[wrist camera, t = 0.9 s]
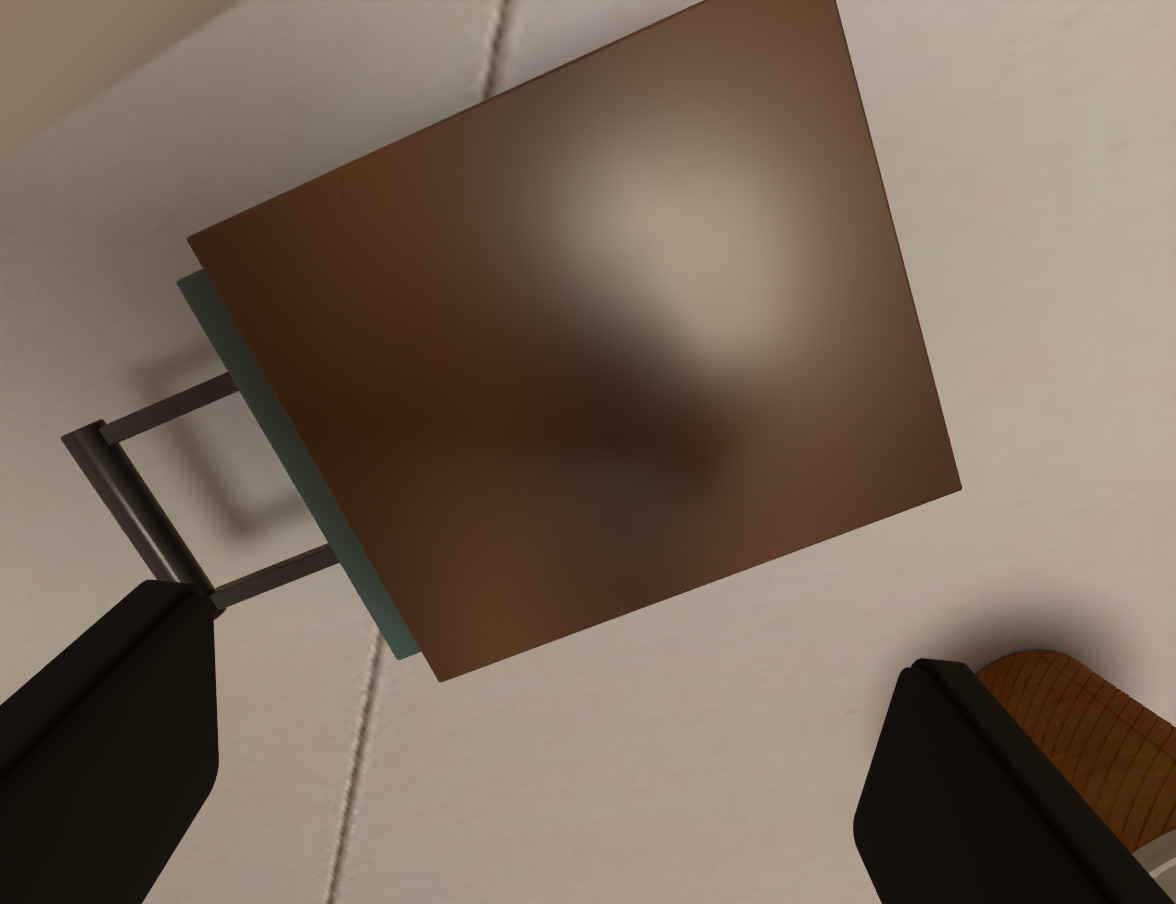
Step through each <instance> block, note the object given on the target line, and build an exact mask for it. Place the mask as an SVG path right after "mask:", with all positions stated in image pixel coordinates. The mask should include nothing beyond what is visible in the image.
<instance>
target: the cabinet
mask: <svg viewBox="0 0 1176 904" xmlns="http://www.w3.org/2000/svg"><path fill="white" fill-rule="evenodd" d="M187 241H188V243H189V245H190V246H191V248H192V250H193V252H194V253H195V255H196V257H197V259H198V260H199V262H200V264H201V266H202V267H203V269H204V271H205V273H206V274H207V276H208V278H209V280H210V281H211V283H212V285H213V287H214V288H215V290H216V292H217V294H218V295H219V297H220V299H221V301H222V302H223V304H224V306H225V308H226V309H227V311H228V313H229V315H230V316H231V318H232V320H233V322H234V323H235V325H236V327H237V329H238V330H239V332H240V334H241V336H242V337H243V339H244V341H245V343H246V344H247V346H248V348H249V350H250V351H251V353H252V355H253V357H254V358H255V360H256V362H257V364H258V365H259V367H260V369H261V371H262V373H263V374H264V376H265V378H266V380H267V381H268V383H269V385H270V387H271V388H272V390H273V392H274V394H275V395H276V397H277V399H278V401H279V402H280V404H281V406H282V408H283V409H284V411H285V413H286V415H287V416H288V418H289V420H290V422H291V423H292V425H293V427H294V429H295V430H296V432H297V434H298V436H299V437H300V439H301V441H302V443H303V444H304V446H305V448H306V450H307V451H308V453H309V455H310V457H311V458H312V460H313V462H314V464H315V465H316V467H317V469H318V471H319V472H320V474H321V476H322V478H323V479H324V481H325V483H326V485H327V486H328V488H329V490H330V492H331V493H332V495H333V497H334V499H335V500H336V502H337V504H338V506H339V507H340V509H341V511H342V513H343V514H344V516H345V518H346V520H347V521H348V523H349V525H350V527H351V528H352V530H353V532H354V534H355V535H356V537H357V539H358V541H359V542H360V544H361V546H362V548H363V550H364V551H365V553H366V555H367V557H368V558H369V560H370V562H371V564H372V565H373V567H374V569H375V571H376V572H377V574H378V576H379V578H380V579H381V581H382V583H383V585H384V586H385V588H386V590H387V592H388V593H389V595H390V597H391V599H392V600H393V602H394V604H395V606H396V607H397V609H398V611H399V613H400V614H401V616H402V618H403V620H404V621H405V623H406V625H407V627H408V628H409V630H410V632H411V634H412V635H413V637H414V639H415V641H416V642H417V644H418V646H419V648H420V649H421V651H422V653H423V655H424V656H425V658H426V660H427V662H428V663H429V665H430V667H431V669H432V670H433V672H434V674H435V676H436V677H437V679H438V681H439V682H444V681H447V680H449V679H452V678H455V677H457V676H460V675H463V674H465V673H468V672H471V671H474V670H476V669H479V668H482V667H484V666H487V665H490V664H492V663H495V662H498V661H501V660H503V659H506V658H509V657H511V656H514V655H517V654H519V653H522V652H525V651H528V650H530V649H533V648H536V647H538V646H541V645H544V644H546V643H549V642H552V641H555V640H557V639H560V638H563V637H565V636H568V635H571V634H574V633H576V632H579V631H582V630H584V629H587V628H590V627H592V626H595V625H598V624H601V623H603V622H606V621H609V620H611V619H614V618H617V617H619V616H622V615H625V614H628V613H630V612H633V611H636V610H638V609H641V608H644V607H646V606H649V605H652V604H655V603H657V602H660V601H663V600H665V599H668V598H671V597H673V596H676V595H679V594H682V593H684V592H687V591H690V590H692V589H695V588H698V587H700V586H703V585H706V584H709V583H711V582H714V581H717V580H719V579H722V578H725V577H727V576H730V575H733V574H736V573H738V572H741V571H744V570H746V569H749V568H752V567H755V566H757V565H760V564H763V563H765V562H768V561H771V560H773V559H776V558H779V557H782V556H784V555H787V554H790V553H792V552H795V551H798V550H800V549H803V548H806V547H809V546H811V545H814V544H817V543H819V542H822V541H825V540H827V539H830V538H833V537H836V536H838V535H841V534H844V533H846V532H849V531H852V530H854V529H857V528H860V527H863V526H865V525H868V524H871V523H873V522H876V521H879V520H881V519H884V518H887V517H890V516H892V515H895V514H898V513H900V512H903V511H906V510H908V509H911V508H914V507H917V506H919V505H922V504H925V503H927V502H930V501H933V500H936V499H938V498H941V497H944V496H946V495H949V494H952V493H954V492H957V491H960V490H961V489H962V486H961V482H960V478H959V474H958V470H957V466H956V462H955V459H954V455H953V451H952V447H951V443H950V439H949V435H948V432H947V428H946V424H945V420H944V416H943V412H942V408H941V405H940V401H939V397H938V393H937V389H936V385H935V381H934V378H933V374H932V370H931V366H930V362H929V358H928V354H927V351H926V347H925V343H924V339H923V335H922V331H921V327H920V324H919V320H918V316H917V312H916V308H915V304H914V300H913V297H912V293H911V289H910V285H909V281H908V277H907V273H906V270H905V266H904V262H903V258H902V254H901V250H900V246H899V243H898V239H897V235H896V231H895V227H894V223H893V219H892V216H891V212H890V208H889V204H888V200H887V196H886V192H885V189H884V185H883V181H882V177H881V173H880V169H879V165H878V162H877V158H876V154H875V150H874V146H873V142H872V138H871V135H870V131H869V127H868V123H867V119H866V115H865V111H864V108H863V104H862V100H861V96H860V92H859V88H858V84H857V81H856V77H855V73H854V69H853V65H852V61H851V57H850V54H849V50H848V46H847V42H846V38H845V34H844V30H843V27H842V23H841V19H840V15H839V11H838V7H837V3H836V0H703V1H701V2H699V3H697V4H695V5H692V6H690V7H688V8H686V9H684V10H682V11H679V12H677V13H675V14H673V15H671V16H668V17H666V18H664V19H662V20H660V21H658V22H655V23H653V24H651V25H649V26H647V27H644V28H642V29H640V30H638V31H636V32H634V33H631V34H629V35H627V36H625V37H623V38H620V39H618V40H616V41H614V42H612V43H610V44H607V45H605V46H603V47H601V48H599V49H596V50H594V51H592V52H590V53H588V54H586V55H583V56H581V57H579V58H577V59H575V60H572V61H570V62H568V63H566V64H564V65H562V66H559V67H557V68H555V69H553V70H551V71H548V72H546V73H544V74H542V75H540V76H538V77H535V78H533V79H531V80H529V81H527V82H524V83H522V84H520V85H518V86H516V87H514V88H511V89H509V90H507V91H505V92H503V93H500V94H498V95H496V96H494V97H492V98H490V99H487V100H485V101H483V102H481V103H479V104H476V105H474V106H472V107H470V108H468V109H466V110H463V111H461V112H459V113H457V114H455V115H452V116H450V117H448V118H446V119H444V120H442V121H439V122H437V123H435V124H433V125H431V126H428V127H426V128H424V129H422V130H420V131H418V132H415V133H413V134H411V135H409V136H407V137H404V138H402V139H400V140H398V141H396V142H394V143H391V144H389V145H387V146H385V147H383V148H380V149H378V150H376V151H374V152H372V153H370V154H367V155H365V156H363V157H361V158H359V159H356V160H354V161H352V162H350V163H348V164H346V165H343V166H341V167H339V168H337V169H335V170H333V171H330V172H328V173H326V174H324V175H322V176H319V177H317V178H315V179H313V180H311V181H309V182H306V183H304V184H302V185H300V186H298V187H295V188H293V189H291V190H289V191H287V192H285V193H282V194H280V195H278V196H276V197H274V198H271V199H269V200H267V201H265V202H263V203H261V204H258V205H256V206H254V207H252V208H250V209H247V210H245V211H243V212H241V213H239V214H237V215H234V216H232V217H230V218H228V219H226V220H223V221H221V222H219V223H217V224H215V225H213V226H210V227H208V228H206V229H204V230H202V231H199V232H197V233H195V234H193V235H191V236H189V237H188V238H187Z"/></svg>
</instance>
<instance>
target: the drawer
mask: <svg viewBox="0 0 1176 904" xmlns="http://www.w3.org/2000/svg"><path fill="white" fill-rule="evenodd" d="M177 285H178V287H179V289H180V290H181V292H182V294H183V295H184V297H185V299H186V301H187V302H188V304H189V306H190V307H191V309H192V311H193V312H194V314H195V316H196V318H197V319H198V321H199V323H200V324H201V326H202V328H203V330H204V331H205V333H206V335H207V336H208V338H209V340H210V341H211V343H212V345H213V347H214V348H215V350H216V352H217V353H218V355H219V357H220V359H221V360H222V362H223V364H224V365H225V367H226V369H227V370H228V372H226V373H224V374H222V375H219V376H217V377H215V378H212V379H210V380H208V381H206V382H203V383H201V384H199V385H196V386H194V387H192V388H189V389H187V390H185V391H182V392H180V393H178V394H176V395H173V396H171V397H169V398H166V399H164V400H162V401H159V402H157V403H155V404H152V405H150V406H148V407H146V408H143V409H141V410H139V411H136V412H134V413H132V414H129V415H127V416H125V417H122V418H120V419H118V420H116V421H113V422H111V423H109V424H106V423H105V421H104V420H103V419H100V420H98V421H96V422H93V423H91V424H89V425H86V426H84V427H82V428H79V429H77V430H75V431H73V432H70V433H68V434H66V435H64V436H62V437H61V441H62V442H63V443H64V445H65V446H66V448H67V449H68V451H69V452H70V454H71V455H72V457H73V458H74V460H75V461H76V462H77V464H78V465H79V467H80V468H81V470H82V471H83V473H84V474H85V476H86V477H87V478H88V480H89V481H90V483H91V484H92V486H93V487H94V489H95V490H96V492H97V493H98V495H99V496H100V497H101V499H102V500H103V502H104V503H105V505H106V506H107V508H108V509H109V511H110V512H111V513H112V515H113V516H114V518H115V519H116V521H117V522H118V524H119V525H120V527H121V528H122V530H123V531H124V532H125V534H126V535H127V537H128V538H129V540H130V541H131V543H132V544H133V546H134V547H135V548H136V550H137V551H138V553H139V554H140V556H141V557H142V559H143V560H144V562H145V563H146V565H147V566H148V567H149V569H150V570H151V572H152V573H153V575H154V576H155V578H156V579H157V580H161V581H170V582H180V583H190V584H195V585H196V586H197V587H198V588H199V591H200V594H201V596H206V597H209V598H210V599H211V601H212V605H213V620H215V619H216V618H218V617H219V616H220V615H221V614H222V613H223V612H224V611H225V610H226V607H228V606H231V605H233V604H236V603H239V602H241V601H244V600H246V599H249V598H251V597H254V596H256V595H259V594H261V593H264V592H266V591H269V590H271V589H274V588H276V587H279V586H282V585H284V584H287V583H289V582H292V581H294V580H297V579H299V578H302V577H304V576H307V575H309V574H312V573H314V572H317V571H319V570H322V569H325V568H327V567H330V566H332V565H335V564H337V563H341V565H342V567H343V568H344V570H345V572H346V573H347V575H348V577H349V579H350V580H351V582H352V584H353V585H354V587H355V589H356V590H357V592H358V594H359V596H360V597H361V599H362V601H363V602H364V604H365V606H366V608H367V609H368V611H369V613H370V614H371V616H372V618H373V619H374V621H375V623H376V625H377V626H378V628H379V630H380V631H381V633H382V635H383V637H384V638H385V640H386V642H387V643H388V645H389V647H390V648H391V650H392V652H393V654H394V655H395V657H396V659H397V660H401V659H403V658H406V657H409V656H411V655H414V654H417V653H419V652H422V651H421V649H420V648H419V646H418V644H417V642H416V641H415V639H414V637H413V635H412V634H411V632H410V630H409V628H408V627H407V625H406V623H405V621H404V620H403V618H402V616H401V614H400V613H399V611H398V609H397V607H396V606H395V604H394V602H393V600H392V599H391V597H390V595H389V593H388V592H387V590H386V588H385V586H384V585H383V583H382V581H381V579H380V578H379V576H378V574H377V572H376V571H375V569H374V567H373V565H372V564H371V562H370V560H369V558H368V557H367V555H366V553H365V551H364V550H363V548H362V546H361V544H360V542H359V541H358V539H357V537H356V535H355V534H354V532H353V530H352V528H351V527H350V525H349V523H348V521H347V520H346V518H345V516H344V514H343V513H342V511H341V509H340V507H339V506H338V504H337V502H336V500H335V499H334V497H333V495H332V493H331V492H330V490H329V488H328V486H327V485H326V483H325V481H324V479H323V478H322V476H321V474H320V472H319V471H318V469H317V467H316V465H315V464H314V462H313V460H312V458H311V457H310V455H309V453H308V451H307V450H306V448H305V446H304V444H303V443H302V441H301V439H300V437H299V436H298V434H297V432H296V430H295V429H294V427H293V425H292V423H291V422H290V420H289V418H288V416H287V415H286V413H285V411H284V409H283V408H282V406H281V404H280V402H279V401H278V399H277V397H276V395H275V394H274V392H273V390H272V388H271V387H270V385H269V383H268V381H267V380H266V378H265V376H264V374H263V373H262V371H261V369H260V367H259V365H258V364H257V362H256V360H255V358H254V357H253V355H252V353H251V351H250V350H249V348H248V346H247V344H246V343H245V341H244V339H243V337H242V336H241V334H240V332H239V330H238V329H237V327H236V325H235V323H234V322H233V320H232V318H231V316H230V315H229V313H228V311H227V309H226V308H225V306H224V304H223V302H222V301H221V299H220V297H219V295H218V294H217V292H216V290H215V288H214V287H213V285H212V283H211V281H210V280H209V278H208V276H207V274H206V273H205V271H204V269H201V270H199V271H197V272H194V273H192V274H190V275H188V276H186V277H183V278H181V279H179V280H178V281H177ZM237 391H240V393H241V394H242V396H243V398H244V399H245V401H246V403H247V405H248V406H249V408H250V410H251V411H252V413H253V415H254V417H255V418H256V420H257V422H258V423H259V425H260V427H261V428H262V430H263V432H264V434H265V435H266V437H267V439H268V440H269V442H270V444H271V446H272V447H273V449H274V451H275V452H276V454H277V456H278V457H279V459H280V461H281V463H282V464H283V466H284V468H285V469H286V471H287V473H288V474H289V476H290V478H291V480H292V481H293V483H294V485H295V486H296V488H297V490H298V492H299V493H300V495H301V497H302V498H303V500H304V502H305V503H306V505H307V507H308V509H309V510H310V512H311V514H312V515H313V517H314V519H315V521H316V522H317V524H318V526H319V527H320V529H321V531H322V532H323V534H324V536H325V538H326V539H327V541H328V543H327V544H324V545H322V546H319V547H317V548H314V549H312V550H309V551H307V552H304V553H302V554H299V555H297V556H294V557H292V558H289V559H287V560H284V561H282V562H279V563H277V564H274V565H272V566H269V567H267V568H264V569H262V570H259V571H257V572H254V573H252V574H249V575H247V576H244V577H242V578H239V579H237V580H234V581H232V582H229V583H227V584H224V585H222V586H219V587H217V588H216V589H215V588H214V586H213V585H212V583H211V582H210V580H209V579H208V577H207V576H206V574H205V573H204V571H203V570H202V568H201V567H200V565H199V564H198V562H197V561H196V559H195V558H194V556H193V555H192V553H191V552H190V550H189V549H188V547H187V545H186V544H185V542H184V541H183V539H182V538H181V536H180V535H179V533H178V532H177V530H176V529H175V527H174V526H173V524H172V523H171V521H170V520H169V518H168V517H167V515H166V514H165V512H164V511H163V509H162V508H161V506H160V505H159V503H158V501H157V500H156V498H155V497H154V495H153V494H152V492H151V491H150V489H149V488H148V486H147V485H146V483H145V482H144V480H143V479H142V477H141V476H140V474H139V473H138V471H137V470H136V468H135V467H134V465H133V464H132V462H131V460H130V459H129V457H128V456H127V454H126V453H125V451H124V450H123V448H122V447H121V445H120V444H119V442H121V441H123V440H126V439H128V438H130V437H133V436H135V435H137V434H140V433H142V432H144V431H147V430H149V429H151V428H154V427H156V426H158V425H161V424H163V423H165V422H168V421H170V420H172V419H175V418H177V417H179V416H182V415H184V414H186V413H189V412H191V411H193V410H196V409H198V408H200V407H203V406H205V405H207V404H210V403H212V402H214V401H217V400H219V399H221V398H224V397H226V396H228V395H230V394H233V393H235V392H237Z"/></svg>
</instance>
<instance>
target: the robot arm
mask: <svg viewBox="0 0 1176 904" xmlns="http://www.w3.org/2000/svg"><path fill="white" fill-rule="evenodd" d="M218 767H219V752H218V725H217V699H216V673H215V647H214V621H213V605H212V601H211V599H210V598H209V597H206V596H201V594H200V591H199V588H198V587H197V586H196V585H195V584H190V583H180V582H170V581H161V580H146V581H144V582H142V583H141V584H140V585H138V586H137V587H136V588H135V589H134V590H133V591H132V592H130V593H129V594H128V595H127V596H126V597H125V598H123V599H122V600H121V601H120V602H119V603H118V604H117V605H115V606H114V607H113V608H112V609H111V610H110V611H108V612H107V613H106V614H105V615H104V616H103V617H102V618H100V619H99V620H98V621H97V622H96V623H95V624H94V625H92V626H91V627H90V628H89V629H88V630H87V631H85V632H84V633H83V634H82V635H81V636H80V637H79V638H77V639H76V640H75V641H74V642H73V643H72V644H70V645H69V646H68V647H67V648H66V649H65V650H64V651H62V652H61V653H60V654H59V655H58V656H57V657H56V658H54V659H53V660H52V661H51V662H50V663H49V664H47V665H46V666H45V667H44V668H43V669H42V670H41V671H39V672H38V673H37V674H36V675H35V676H34V677H32V678H31V679H30V680H29V681H28V682H27V683H26V684H24V685H23V686H22V687H21V688H20V689H19V690H18V691H16V692H15V693H14V694H13V695H12V696H11V697H9V698H8V699H7V700H6V701H5V702H4V703H3V704H1V705H0V904H142V902H143V901H144V899H145V897H146V896H147V894H148V893H149V891H150V889H151V888H152V886H153V885H154V883H155V881H156V880H157V878H158V876H159V875H160V873H161V872H162V870H163V868H164V867H165V865H166V864H167V862H168V860H169V859H170V857H171V855H172V854H173V852H174V851H175V849H176V847H177V846H178V844H179V842H180V841H181V839H182V838H183V836H184V834H185V833H186V831H187V830H188V828H189V826H190V825H191V823H192V821H193V820H194V818H195V817H196V815H197V813H198V812H199V810H200V809H201V807H202V805H203V804H204V802H205V800H206V799H207V797H208V796H209V794H210V792H211V790H212V788H213V785H214V783H215V780H216V776H217V772H218ZM853 833H854V839H855V844H856V846H857V849H858V851H859V854H860V856H861V858H862V860H863V863H864V865H865V867H866V869H867V872H868V874H869V876H870V878H871V880H872V883H873V885H874V887H875V889H876V892H877V894H878V896H879V898H880V900H881V903H882V904H1175V903H1174V902H1173V901H1172V900H1171V898H1170V897H1169V896H1168V895H1167V894H1166V893H1165V892H1164V890H1163V889H1162V888H1161V887H1160V886H1159V885H1158V884H1157V882H1156V881H1155V880H1154V879H1153V878H1152V877H1151V876H1150V874H1149V873H1148V872H1147V871H1146V870H1145V869H1144V867H1143V866H1142V865H1141V864H1140V863H1139V862H1138V861H1137V859H1136V858H1135V857H1134V856H1133V855H1132V854H1131V853H1130V851H1129V850H1128V849H1127V848H1126V847H1125V846H1124V845H1123V843H1122V842H1121V841H1120V840H1119V839H1118V838H1117V837H1116V835H1115V834H1114V833H1113V832H1112V831H1111V830H1110V829H1109V827H1108V826H1107V825H1106V824H1105V823H1104V822H1103V820H1102V819H1101V818H1100V817H1099V816H1098V815H1097V814H1096V812H1095V811H1094V810H1093V809H1092V808H1091V807H1090V806H1089V804H1088V803H1087V802H1086V801H1085V800H1084V799H1083V798H1082V796H1081V795H1080V794H1079V793H1078V792H1077V791H1076V790H1075V788H1074V787H1073V786H1072V785H1071V784H1070V783H1069V782H1068V780H1067V779H1066V778H1065V777H1064V776H1063V775H1062V774H1061V772H1060V771H1059V770H1058V769H1057V768H1056V767H1055V765H1054V764H1053V763H1052V762H1051V761H1050V760H1049V759H1048V757H1047V756H1046V755H1045V754H1044V753H1043V752H1042V751H1041V749H1040V748H1039V747H1038V746H1037V745H1036V744H1035V743H1034V741H1033V740H1032V739H1031V738H1030V737H1029V736H1028V735H1027V733H1026V732H1025V731H1024V730H1023V729H1022V728H1021V727H1020V725H1019V724H1018V723H1017V722H1016V721H1015V720H1014V718H1013V717H1012V716H1011V715H1010V714H1009V713H1008V712H1007V710H1006V709H1005V708H1004V707H1003V706H1002V705H1001V704H1000V702H999V701H998V700H997V699H996V698H995V697H994V696H993V694H992V693H991V692H990V691H989V690H988V689H987V688H986V686H985V685H984V684H983V683H982V682H981V681H980V680H979V678H978V677H977V676H976V675H975V674H974V673H973V672H972V670H971V669H970V668H969V667H968V666H966V665H965V664H964V663H961V662H954V661H945V660H935V659H925V658H921V659H918V660H916V661H915V662H914V663H913V664H912V666H911V668H909V667H907V668H904V669H903V670H902V671H901V673H900V675H899V677H898V680H897V683H896V686H895V690H894V693H893V696H892V699H891V702H890V705H889V709H888V712H887V715H886V718H885V721H884V724H883V728H882V731H881V734H880V737H879V740H878V743H877V746H876V750H875V753H874V756H873V759H872V762H871V765H870V769H869V772H868V775H867V778H866V781H865V784H864V788H863V791H862V794H861V797H860V800H859V803H858V807H857V810H856V813H855V816H854V821H853Z"/></svg>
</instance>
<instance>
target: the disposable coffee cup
mask: <svg viewBox="0 0 1176 904" xmlns="http://www.w3.org/2000/svg"><path fill="white" fill-rule="evenodd" d="M976 676H977V677H978V678H979V680H980V681H981V682H982V683H983V684H984V685H985V686H986V688H987V689H988V690H989V691H990V692H991V693H992V694H993V696H994V697H995V698H996V699H997V700H998V701H999V702H1000V704H1001V705H1002V706H1003V707H1004V708H1005V709H1006V710H1007V712H1008V713H1009V714H1010V715H1011V716H1012V717H1013V718H1014V720H1015V721H1016V722H1017V723H1018V724H1019V725H1020V727H1021V728H1022V729H1023V730H1024V731H1025V732H1026V733H1027V735H1028V736H1029V737H1030V738H1031V739H1032V740H1033V741H1034V743H1035V744H1036V745H1037V746H1038V747H1039V748H1040V749H1041V751H1042V752H1043V753H1044V754H1045V755H1046V756H1047V757H1048V759H1049V760H1050V761H1051V762H1052V763H1053V764H1054V765H1055V767H1056V768H1057V769H1058V770H1059V771H1060V772H1061V774H1062V775H1063V776H1064V777H1065V778H1066V779H1067V780H1068V782H1069V783H1070V784H1071V785H1072V786H1073V787H1074V788H1075V790H1076V791H1077V792H1078V793H1079V794H1080V795H1081V796H1082V798H1083V799H1084V800H1085V801H1086V802H1087V803H1088V804H1089V806H1090V807H1091V808H1092V809H1093V810H1094V811H1095V812H1096V814H1097V815H1098V816H1099V817H1100V818H1101V819H1102V820H1103V822H1104V823H1105V824H1106V825H1107V826H1108V827H1109V829H1110V830H1111V831H1112V832H1113V833H1114V834H1115V835H1116V837H1117V838H1118V839H1119V840H1120V841H1121V842H1122V843H1123V845H1124V846H1125V847H1126V848H1127V849H1128V850H1129V851H1130V853H1131V854H1132V855H1133V856H1134V857H1135V858H1136V859H1137V861H1138V862H1139V863H1140V864H1141V865H1142V866H1143V867H1144V869H1145V870H1146V871H1147V872H1148V873H1149V874H1150V876H1151V877H1152V878H1153V879H1154V880H1155V881H1156V882H1157V884H1158V885H1159V886H1160V887H1161V888H1162V889H1163V890H1164V892H1165V893H1166V894H1167V895H1168V896H1169V897H1170V898H1171V900H1172V901H1173V902H1174V903H1175V904H1176V727H1174V726H1172V724H1170V723H1169V722H1167V721H1166V720H1164V719H1162V718H1161V717H1159V716H1157V714H1155V713H1154V712H1152V711H1150V710H1149V709H1147V708H1146V707H1143V705H1142V704H1141V703H1139V702H1137V701H1136V700H1134V699H1133V698H1131V697H1130V698H1129V695H1127V694H1126V693H1124V692H1122V691H1121V690H1119V689H1116V687H1115V686H1114V685H1112V684H1111V683H1109V682H1107V681H1106V680H1104V679H1103V678H1102V677H1100V676H1099V675H1097V674H1096V673H1094V672H1092V671H1091V670H1090V669H1088V668H1087V667H1086V666H1084V665H1083V664H1081V663H1080V662H1079V661H1077V660H1075V659H1073V658H1071V657H1069V656H1067V655H1065V654H1062V653H1058V652H1054V651H1044V650H1037V651H1028V652H1021V653H1017V654H1013V655H1010V656H1008V657H1005V658H1003V659H1000V660H998V661H996V662H994V663H993V664H991V665H989V666H988V667H986V668H985V669H983V670H982V671H981V672H980V673H979V674H977V675H976Z"/></svg>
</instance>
